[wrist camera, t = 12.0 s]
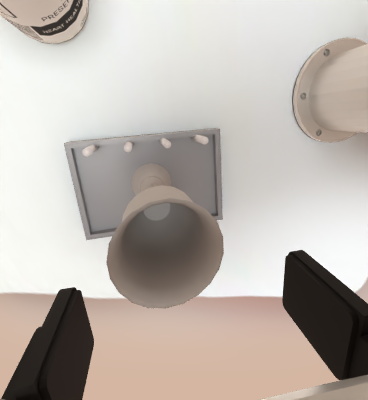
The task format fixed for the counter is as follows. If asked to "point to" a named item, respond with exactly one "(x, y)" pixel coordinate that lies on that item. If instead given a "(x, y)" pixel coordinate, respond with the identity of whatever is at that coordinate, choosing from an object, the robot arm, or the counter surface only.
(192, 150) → the drying rack
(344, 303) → the robot arm
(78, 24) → the supplement can
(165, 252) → the chalice
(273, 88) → the counter surface
